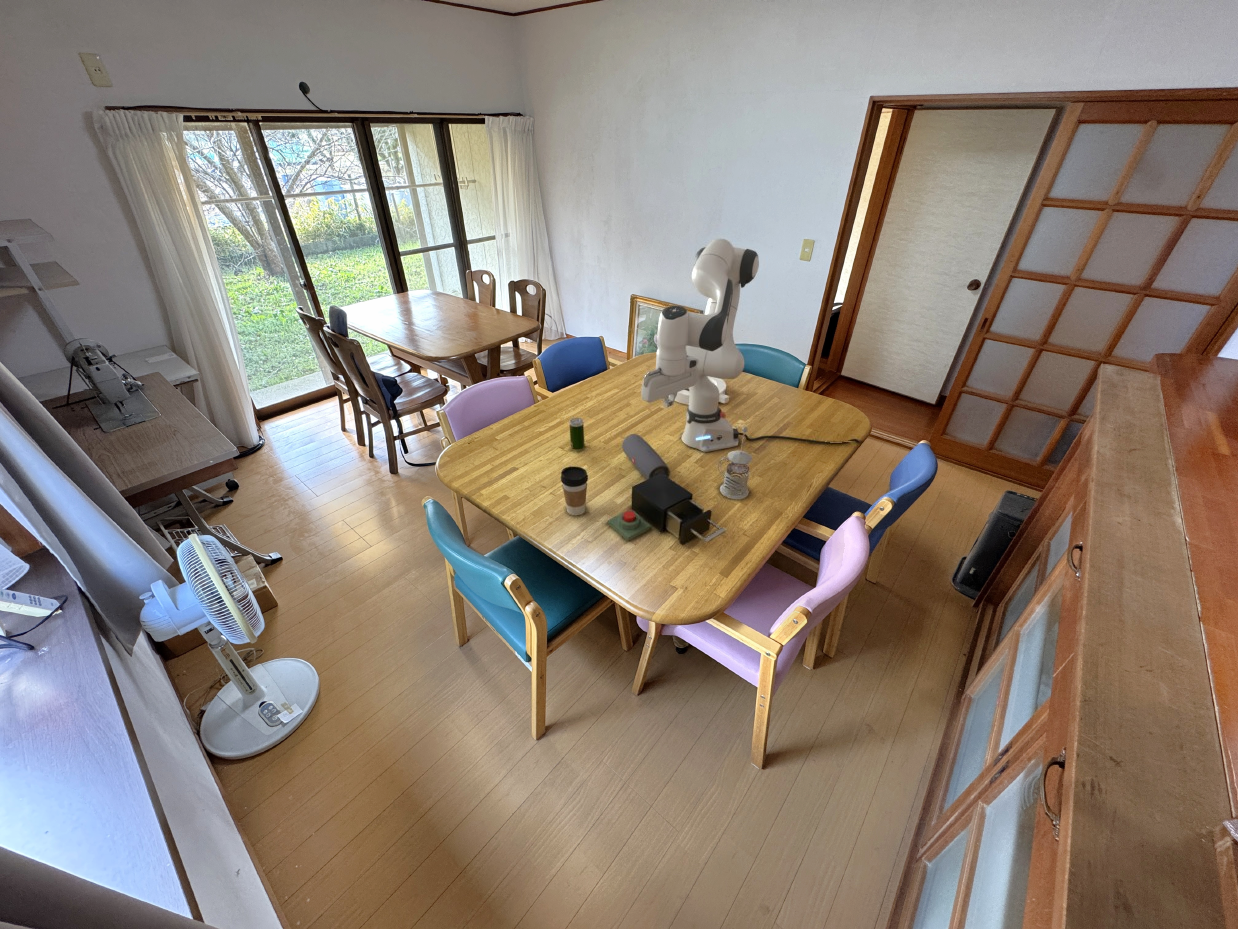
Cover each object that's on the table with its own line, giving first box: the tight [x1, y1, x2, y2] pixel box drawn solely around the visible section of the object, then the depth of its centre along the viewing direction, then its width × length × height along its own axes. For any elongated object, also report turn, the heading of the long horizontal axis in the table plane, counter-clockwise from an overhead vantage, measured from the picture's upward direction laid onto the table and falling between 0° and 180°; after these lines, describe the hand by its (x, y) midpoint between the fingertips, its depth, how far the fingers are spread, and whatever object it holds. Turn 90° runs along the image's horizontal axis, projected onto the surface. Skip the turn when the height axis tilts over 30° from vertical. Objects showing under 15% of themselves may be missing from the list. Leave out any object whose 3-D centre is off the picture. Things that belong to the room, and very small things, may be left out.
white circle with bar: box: [669, 376, 730, 406], centre depth 229 cm, size 28×28×5 cm
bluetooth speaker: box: [621, 433, 671, 480], centre depth 173 cm, size 23×9×10 cm, turn 23°
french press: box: [717, 426, 753, 500], centre depth 160 cm, size 10×12×25 cm
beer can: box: [568, 417, 585, 452], centre depth 185 cm, size 5×5×12 cm
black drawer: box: [663, 498, 727, 546], centre depth 145 cm, size 21×11×7 cm, turn 38°
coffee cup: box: [560, 466, 589, 516], centre depth 153 cm, size 8×8×15 cm
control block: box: [607, 508, 652, 542], centre depth 149 cm, size 10×9×4 cm
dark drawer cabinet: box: [630, 473, 694, 534], centre depth 153 cm, size 15×13×9 cm
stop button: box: [623, 510, 636, 522], centre depth 148 cm, size 4×4×2 cm
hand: (668, 405), depth 150 cm, fingers closed
